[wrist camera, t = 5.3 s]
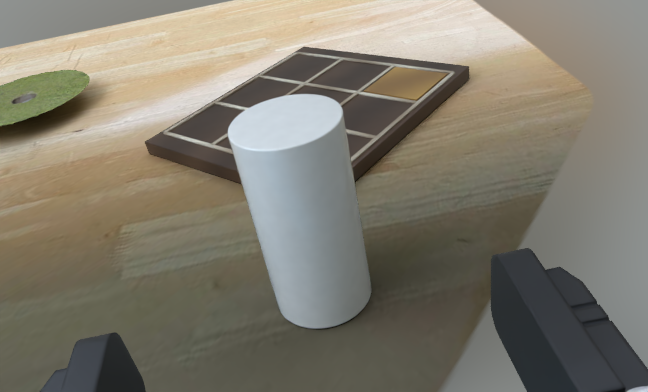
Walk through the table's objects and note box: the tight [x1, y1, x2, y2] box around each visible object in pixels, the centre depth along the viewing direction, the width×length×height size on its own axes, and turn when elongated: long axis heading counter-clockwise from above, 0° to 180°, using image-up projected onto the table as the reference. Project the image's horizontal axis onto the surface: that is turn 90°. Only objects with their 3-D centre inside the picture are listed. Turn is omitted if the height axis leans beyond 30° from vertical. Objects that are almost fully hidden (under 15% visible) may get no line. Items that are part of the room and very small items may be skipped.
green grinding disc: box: [0, 70, 89, 126], centre depth 50 cm, size 11×11×2 cm
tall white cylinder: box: [227, 94, 371, 329], centre depth 24 cm, size 4×4×9 cm
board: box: [145, 47, 469, 184], centre depth 41 cm, size 16×18×1 cm
